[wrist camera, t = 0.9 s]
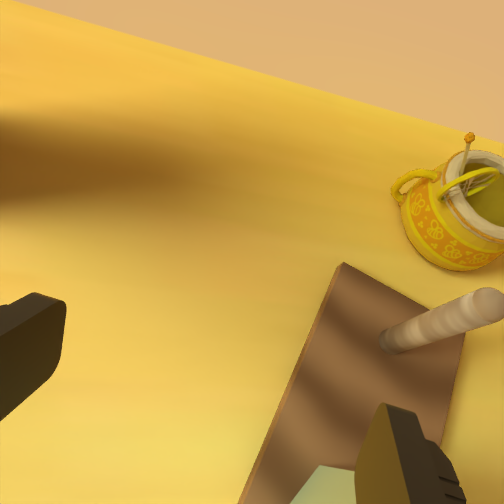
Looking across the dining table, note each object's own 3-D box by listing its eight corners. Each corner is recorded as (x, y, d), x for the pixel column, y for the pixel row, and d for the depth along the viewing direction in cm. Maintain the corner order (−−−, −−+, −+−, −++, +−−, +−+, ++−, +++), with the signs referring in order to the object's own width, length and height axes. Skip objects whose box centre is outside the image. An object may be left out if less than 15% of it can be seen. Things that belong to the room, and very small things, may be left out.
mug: (489, 212, 47) (590, 146, 36) (477, 294, 42) (590, 246, 31) (390, 161, 46) (462, 80, 36) (365, 239, 42) (441, 171, 31)
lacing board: (336, 267, 39) (426, 189, 27) (455, 333, 39) (599, 287, 27) (220, 544, 28) (278, 633, 16) (383, 634, 29) (569, 792, 16)
